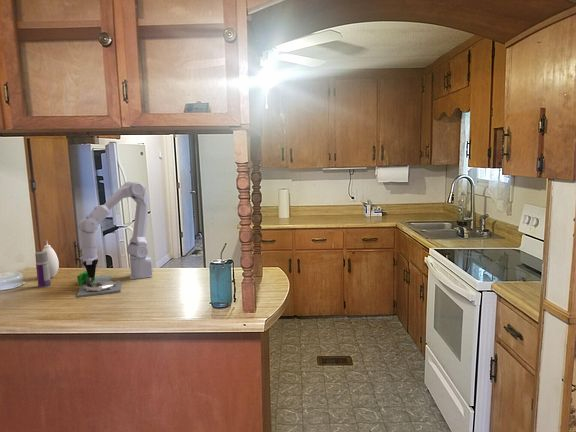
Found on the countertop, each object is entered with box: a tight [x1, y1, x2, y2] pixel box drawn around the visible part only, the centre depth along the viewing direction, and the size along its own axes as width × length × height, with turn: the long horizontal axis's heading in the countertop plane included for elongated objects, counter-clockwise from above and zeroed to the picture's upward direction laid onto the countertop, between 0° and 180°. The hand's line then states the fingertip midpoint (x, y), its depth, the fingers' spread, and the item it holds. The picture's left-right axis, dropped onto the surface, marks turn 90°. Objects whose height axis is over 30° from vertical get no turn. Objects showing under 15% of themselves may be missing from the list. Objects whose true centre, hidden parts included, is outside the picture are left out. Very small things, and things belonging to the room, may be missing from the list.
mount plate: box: [76, 280, 122, 298], centre depth 171 cm, size 16×15×1 cm
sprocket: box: [83, 277, 116, 292], centre depth 171 cm, size 12×12×4 cm
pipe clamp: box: [76, 270, 96, 287], centre depth 183 cm, size 11×4×5 cm, turn 2°
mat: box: [93, 275, 112, 283], centre depth 185 cm, size 7×13×1 cm, turn 22°
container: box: [34, 251, 52, 289], centre depth 177 cm, size 5×5×15 cm
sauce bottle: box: [41, 240, 60, 279], centre depth 190 cm, size 8×8×18 cm
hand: (91, 277), depth 175 cm, fingers closed
